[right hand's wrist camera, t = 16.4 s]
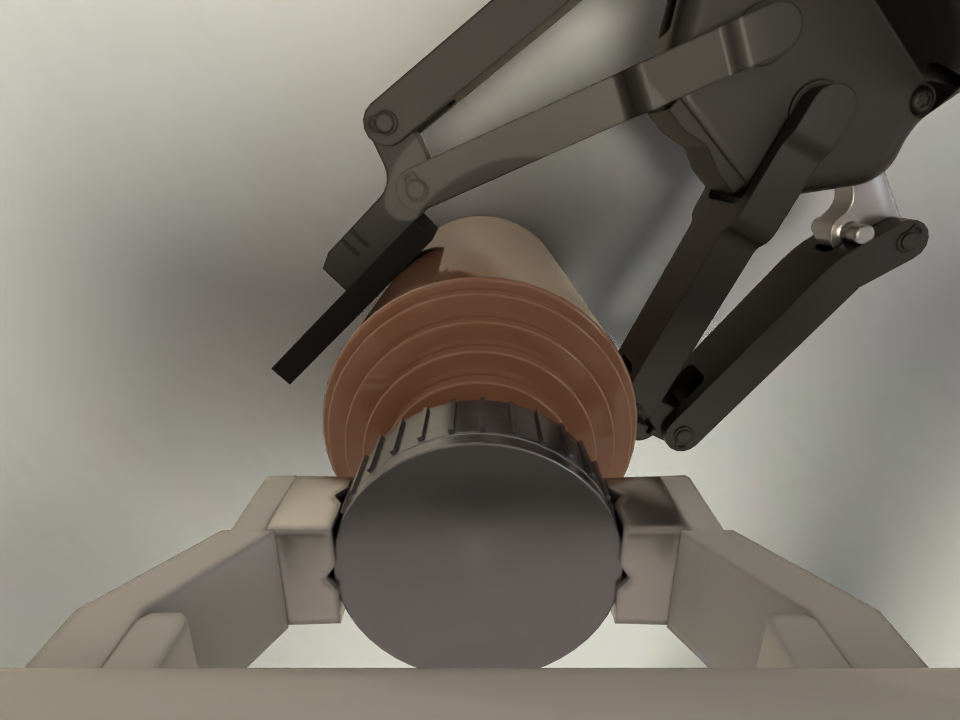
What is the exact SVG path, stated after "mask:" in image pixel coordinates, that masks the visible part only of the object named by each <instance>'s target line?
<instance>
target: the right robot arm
mask: <svg viewBox="0 0 960 720" xmlns="http://www.w3.org/2000/svg"><path fill="white" fill-rule="evenodd" d="M603 479H604V482H605V484H606V487H607V490H608V492H609V495H610V498H611V500H612V502H613V505H614V516H615V519H616V523H617V526H618V529H619V533H620V536H621V550H620V559H619V563H620V566H621V567H622V568H623V575H622V580H621V581H620V583H619V584H618V585H617V587H616V597H615V602H614V604H613V606H612V608H611V612H612V615H613V618H614V622H615V623H624V624H660V625H667V627H668V628H669V629H670V630H671V631H672V632H673V633H674V634H675V635H676V636H677V637H678V638H679V639H680V640H681V641H682V642H683V643H684V644H685V645H686V646H687V647H688V648H689V649H690V650H691V651H692V652H693V653H694V654H695V655H696V656H697V657H698V658H699V659H700V660H701V661H703V662H704V663H705V664H706V665H707V666H708V667H709V668H247V667H248V666H249V665H250V664H251V663H252V662H253V661H254V660H255V659H256V658H257V657H258V656H259V655H260V654H261V653H262V652H263V651H264V650H265V649H267V648H268V647H269V646H270V645H271V644H272V643H273V642H274V641H275V640H276V639H277V638H278V637H279V636H280V635H281V634H282V633H283V632H284V631H285V630H286V629H287V628H288V625H295V624H330V623H341V621H342V617H343V614H344V611H345V606H344V604H343V603H342V601H341V598H340V592H339V585H338V584H337V583H336V581H335V576H334V571H333V568H334V566H335V564H336V555H335V538H336V535H337V531H338V528H339V525H340V522H341V519H342V517H339V514H340V511H341V508H342V506H343V503H344V500H345V498H346V495H347V493H348V490H349V488H350V485H351V482H352V480H353V477H325V476H299V477H298V476H270V477H267V478H266V479H265V480H264V481H263V483H262V485H261V486H260V488H259V489H258V491H257V492H256V494H255V495H254V497H253V498H252V500H251V501H250V503H249V504H248V506H247V507H246V509H245V510H244V512H243V513H242V515H241V516H240V518H239V519H238V521H237V522H236V524H235V525H234V527H233V528H232V530H222V531H220V532H218V533H217V534H215V535H213V536H211V537H209V538H207V539H205V540H204V541H202V542H200V543H198V544H196V545H194V546H193V547H191V548H189V549H187V550H185V551H183V552H182V553H180V554H178V555H176V556H174V557H172V558H171V559H169V560H167V561H165V562H163V563H161V564H160V565H158V566H156V567H154V568H152V569H150V570H149V571H147V572H145V573H143V574H141V575H139V576H138V577H136V578H134V579H132V580H130V581H128V582H127V583H125V584H123V585H121V586H119V587H117V588H116V589H114V590H112V591H110V592H108V593H106V594H105V595H103V596H101V597H99V598H97V599H95V600H94V601H92V602H90V603H88V604H86V605H84V606H83V607H81V608H79V609H77V610H75V612H74V613H73V614H72V615H71V616H70V617H69V618H68V619H67V621H66V622H65V623H64V624H63V625H62V626H61V627H60V628H59V630H58V631H57V632H56V633H55V634H54V635H53V636H52V637H51V639H50V640H49V641H48V642H47V643H46V644H45V645H44V647H43V648H42V649H41V650H40V651H39V652H38V653H37V654H36V656H35V657H34V658H33V659H32V660H31V661H30V662H29V663H28V665H27V666H26V667H25V668H0V720H960V668H928V666H927V665H926V664H925V663H924V662H923V661H922V660H921V658H920V657H919V656H918V655H917V654H916V653H915V651H914V650H913V649H912V648H911V647H910V646H909V645H908V643H907V642H906V641H905V640H904V639H903V638H902V636H901V635H900V634H899V633H898V632H897V631H896V630H895V628H894V627H893V626H892V625H891V624H890V623H889V621H888V620H887V619H886V618H885V617H884V616H883V615H882V613H881V612H880V611H878V610H876V609H875V608H873V607H871V606H869V605H867V604H866V603H864V602H862V601H860V600H858V599H857V598H855V597H853V596H851V595H849V594H847V593H846V592H844V591H842V590H840V589H838V588H837V587H835V586H833V585H831V584H829V583H828V582H826V581H824V580H822V579H820V578H818V577H817V576H815V575H813V574H811V573H809V572H808V571H806V570H804V569H802V568H800V567H798V566H797V565H795V564H793V563H791V562H789V561H788V560H786V559H784V558H782V557H780V556H779V555H777V554H775V553H773V552H771V551H769V550H768V549H766V548H764V547H762V546H760V545H759V544H757V543H755V542H753V541H751V540H750V539H748V538H746V537H744V536H742V535H740V534H739V533H737V532H735V531H733V530H724V529H723V528H722V526H721V525H720V523H719V522H718V520H717V519H716V517H715V516H714V514H713V513H712V511H711V510H710V508H709V507H708V505H707V504H706V502H705V501H704V499H703V498H702V496H701V495H700V493H699V491H698V490H697V488H696V487H695V485H694V484H693V482H692V481H691V479H690V478H689V477H687V476H685V475H681V476H656V477H616V478H603Z"/></svg>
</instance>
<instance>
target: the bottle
mask: <svg viewBox="0 0 960 720" xmlns="http://www.w3.org/2000/svg"><path fill="white" fill-rule="evenodd" d="M480 397H484V398H485V400H490V401H500V402H505V403H509V401H514V404H515V405H518V406H521V407H524V408H528V409H531V410H533V411H536V409H538V410H540V411H541V413H542V415H544V416H546V417H548V418H549V419H551V420H552V421H554V422H556V423H557V424H560V423H563V424H564V425H565V428H566V431H568V432H569V433H570V434H571V435H572V436H573V437H574V438H575V439H576V440H577V441H578V442H579V441H580V440H582V441H583V443H584V445H585V448H586V451H587V453H588V455H589V456H590V458H591V459H592V461H595V460H596V461H597V463H598V466H599V468H600V471H601V474H602V476H603V478H616V477H624V475H625V472H626V470H627V468H628V466H629V462H630V459H631V456H632V453H633V450H634V445H635V439H636V433H637V406H636V398H635V392H634V388H633V385H632V381H631V377H630V374H629V372H628V370H627V367H626V365H625V363H624V361H623V358H622V356H621V355H620V353H619V352H618V350H617V349H616V347H615V345H614V344H613V342H612V341H611V339H610V338H609V336H608V335H607V333H606V332H605V331H604V329H603V328H602V326H601V325H600V323H599V322H598V320H597V319H596V318H595V316H594V315H593V313H592V312H591V310H590V309H589V307H588V306H587V305H586V303H585V302H584V300H583V299H582V297H581V296H580V295H579V293H578V292H577V290H576V289H575V287H574V286H573V284H572V283H571V282H570V280H569V279H568V277H567V276H566V274H565V273H564V272H563V270H562V269H561V267H560V266H559V264H558V263H557V261H556V260H555V259H554V257H553V256H552V254H551V253H550V251H549V250H548V249H547V247H546V246H545V245H544V244H543V243H542V242H541V241H540V240H539V239H538V238H537V237H536V236H535V235H534V234H533V233H531V232H530V231H528V230H527V229H525V228H524V227H522V226H520V225H518V224H516V223H514V222H511V221H508V220H506V219H502V218H497V217H492V216H470V217H465V218H460V219H457V220H454V221H451V222H448V223H446V224H444V225H442V226H440V227H438V230H437V232H436V234H435V236H434V238H433V240H432V241H431V242H430V243H429V244H428V245H427V246H426V247H425V248H424V249H423V250H422V251H421V252H420V253H419V254H418V255H417V256H416V257H415V258H414V259H413V260H412V261H411V262H410V263H409V264H408V265H407V266H406V267H405V268H404V269H403V271H402V272H401V273H400V274H398V275H397V276H396V277H395V278H394V279H393V280H392V282H391V283H390V284H389V285H388V286H387V287H386V289H385V290H384V292H383V293H382V294H381V296H380V297H379V298H378V300H377V301H376V303H375V304H374V305H373V307H372V308H371V309H370V311H369V312H368V314H367V315H366V316H365V318H364V319H363V321H362V322H361V323H360V325H359V326H358V327H357V329H356V330H355V332H354V333H353V334H352V336H351V337H350V338H349V340H348V341H347V343H346V344H345V346H344V348H343V349H342V351H341V353H340V354H339V356H338V358H337V359H336V362H335V364H334V366H333V369H332V371H331V374H330V376H329V379H328V383H327V387H326V391H325V395H324V404H323V414H322V416H323V434H324V439H325V445H326V450H327V453H328V456H329V459H330V462H331V465H332V468H333V470H334V472H335V474H336V476H337V477H354V476H356V474H357V471H358V468H359V466H360V463H361V461H362V458H363V456H364V455H367V456H368V455H369V454H370V452H371V451H372V449H373V448H374V446H375V445H376V442H377V439H378V437H379V436H380V435H382V436H385V435H386V434H387V433H388V432H389V431H391V430H392V429H393V428H394V427H395V426H397V424H398V421H399V420H400V419H402V418H403V420H404V421H405V420H406V419H408V418H409V417H411V416H413V415H415V414H417V413H420V412H422V411H423V408H424V407H427V406H428V408H432V407H436V406H439V405H442V404H446V403H451V400H453V399H456V402H458V401H467V400H480Z"/></svg>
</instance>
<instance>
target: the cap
mask: <svg viewBox="0 0 960 720" xmlns="http://www.w3.org/2000/svg"><path fill="white" fill-rule="evenodd" d="M339 517H342V519H341V522H340V525H339V528H338V531H337V535H336V538H335V555H336V564H335V566H334V568H333V571H334V576H335V581H336V583H337V584H338V585H339V592H340V598H341V601H342V603H343V604H344V606H345V608H346V610H347V612H348V614H349V615H350V617H351V618H352V620H353V621H354V622H355V624H356V625H357V626H358V628H359V629H360V630H361V631H362V632H363V633H364V634H365V635H366V636H367V637H368V638H369V639H370V640H371V641H372V642H374V643H375V644H376V645H377V646H378V647H380V648H381V649H382V650H384V651H385V652H387V653H389V654H390V655H392V656H393V657H395V658H397V659H399V660H401V661H403V662H405V663H407V664H409V665H411V666H413V667H416V668H541V667H544V666H546V665H548V664H550V663H552V662H554V661H556V660H559V659H561V658H562V657H564V656H565V655H567V654H568V653H570V652H572V651H573V650H575V649H576V648H577V647H578V646H580V645H581V644H582V643H583V642H585V641H586V640H587V639H588V638H589V637H590V636H591V635H592V634H593V633H594V632H595V631H596V630H597V629H598V628H599V626H600V625H601V623H602V622H603V621H604V619H605V618H606V617H607V615H608V613H609V612H610V610H611V608H612V606H613V604H614V602H615V597H616V587H617V585H618V584H619V583H620V581H621V580H622V575H623V568H622V567H621V566H620V563H619V559H620V550H621V536H620V533H619V529H618V526H617V523H616V519H615V516H614V505H613V502H612V500H611V498H610V495H609V492H608V490H607V487H606V484H605V482H604V479H603V476H602V474H601V471H600V468H599V466H598V463H597V461H596V460H595V461H592V459H591V458H590V456H589V455H588V453H587V451H586V448H585V445H584V443H583V441H582V440H580V441H579V442H578V441H577V440H576V439H575V438H574V437H573V436H572V435H571V434H570V433H569V432H568V431H566V428H565V425H564V424H563V423H560V424H557V423H556V422H554V421H552V420H551V419H549V418H548V417H546V416H544V415H542V413H541V411H540V410H538V409H536V411H533V410H531V409H528V408H524V407H521V406H518V405H515V404H514V401H509V403H505V402H500V401H490V400H485V398H484V397H480V400H467V401H458V402H456V399H453V400H451V403H446V404H442V405H439V406H436V407H432V408H428V406H427V407H424V408H423V411H422V412H420V413H417V414H415V415H413V416H411V417H409V418H408V419H406V420H405V421H404V420H403V418H402V419H400V420H399V421H398V424H397V426H395V427H394V428H393V429H392V430H391V431H389V432H388V433H387V434H386V435H385V436H382V435H380V436H379V437H378V439H377V442H376V445H375V446H374V448H373V449H372V451H371V452H370V454H369V455H368V456H367V455H364V456H363V458H362V461H361V463H360V466H359V468H358V471H357V474H356V476H354V477H353V480H352V482H351V485H350V488H349V490H348V493H347V495H346V498H345V500H344V503H343V506H342V508H341V511H340V514H339Z"/></svg>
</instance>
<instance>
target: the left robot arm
mask: <svg viewBox="0 0 960 720" xmlns="http://www.w3.org/2000/svg"><path fill="white" fill-rule="evenodd" d="M581 1H582V0H491V1H490V2H489V3H488V4H486V5H485V6H484V7H483V8H482V9H481V10H479V11H478V12H477V13H476V14H475V15H474V16H472V17H471V18H470V19H469V20H468V21H467V22H465V23H464V24H463V25H462V26H461V27H460V28H458V29H457V30H456V31H455V32H454V33H453V34H451V35H450V36H449V37H448V38H447V39H446V40H444V41H443V42H442V43H441V44H440V45H439V46H437V47H436V48H435V49H434V50H433V51H432V52H430V53H429V54H428V55H427V56H426V57H425V58H423V59H422V60H421V61H420V62H419V63H418V64H416V65H415V66H414V67H413V68H412V69H411V70H409V71H408V72H407V73H406V74H405V75H404V76H402V77H401V78H400V79H399V80H398V81H397V82H395V83H394V84H393V85H392V86H391V87H390V88H388V89H387V90H386V91H385V92H384V93H383V94H381V95H380V96H379V97H378V98H377V99H376V100H374V101H373V102H372V103H371V104H370V105H369V107H368V108H367V109H366V110H365V114H364V118H363V123H364V129H365V131H366V133H367V135H368V137H369V138H370V139H371V140H372V141H373V143H374V145H375V147H376V149H377V151H378V153H379V155H380V157H381V159H382V161H383V163H384V166H385V169H386V172H387V185H386V188H385V190H384V192H383V194H382V195H381V197H380V198H379V199H378V200H377V201H376V202H375V203H374V204H373V205H372V206H371V208H370V209H369V210H368V211H367V212H366V213H365V214H364V215H363V216H362V217H361V218H360V219H359V220H358V221H357V223H356V224H355V225H354V226H353V227H352V228H351V229H350V230H349V231H348V232H347V233H346V234H345V235H344V237H343V238H342V239H341V240H340V241H339V242H338V243H337V244H336V245H335V246H334V247H333V248H332V249H331V250H330V252H329V253H328V256H327V258H326V261H325V264H324V267H323V269H324V270H325V271H326V272H327V273H328V274H329V275H330V276H331V277H332V278H333V279H334V280H336V281H337V282H338V283H339V284H340V285H341V286H342V287H343V288H344V289H345V290H346V291H345V292H344V293H343V294H342V295H341V296H340V298H339V299H338V300H337V301H336V302H335V303H334V304H333V305H332V306H331V307H330V308H329V309H328V310H327V311H326V312H325V313H324V314H323V315H322V316H321V317H320V318H319V319H318V320H317V321H316V322H315V323H314V324H313V326H312V327H311V328H310V329H309V330H308V331H307V332H306V333H305V334H304V335H303V336H302V337H301V338H300V339H299V340H298V341H297V342H296V343H295V344H294V345H293V346H292V347H291V348H290V350H289V351H288V352H287V353H286V354H285V355H284V356H283V357H282V358H281V359H280V360H279V361H278V362H277V363H276V364H275V365H274V366H273V368H272V370H273V371H275V372H276V373H277V374H278V375H279V376H281V377H282V378H283V379H284V380H285V381H286V382H288V383H289V384H291V383H292V382H293V381H294V380H295V379H296V378H297V377H298V376H299V375H300V374H301V373H302V372H303V371H304V370H305V369H306V368H307V367H308V366H309V365H310V364H311V363H312V362H313V361H314V360H315V359H316V358H317V357H318V356H319V355H320V354H321V353H322V352H323V351H324V350H325V349H326V347H327V346H328V345H329V344H330V343H331V342H332V341H333V340H334V339H335V338H336V337H337V336H338V335H339V334H340V333H341V332H342V331H343V330H344V329H345V328H346V327H347V326H348V325H349V324H350V323H351V322H352V321H353V320H354V319H355V318H356V317H357V316H358V315H359V314H360V313H361V312H362V311H363V310H364V309H365V308H366V307H367V306H368V305H369V304H370V303H371V302H372V301H373V300H374V299H375V298H376V297H377V296H378V295H379V294H380V293H381V292H382V291H383V290H384V289H385V288H386V287H387V286H388V285H389V284H390V283H391V282H392V280H393V279H394V278H395V277H396V276H397V275H398V274H400V273H401V272H402V271H403V269H404V268H405V267H406V266H407V265H408V264H409V263H410V262H411V261H412V260H413V259H414V258H415V257H416V256H417V255H418V254H419V253H420V252H421V251H422V250H423V249H424V248H425V247H426V246H427V245H428V244H429V243H430V242H431V241H432V240H433V238H434V236H435V234H436V232H437V230H438V227H437V226H436V225H435V224H434V223H433V222H432V221H431V220H430V219H429V218H428V217H427V216H426V215H425V214H424V212H425V211H426V210H427V209H428V208H430V207H432V206H434V205H437V204H439V203H441V202H443V201H446V200H448V199H450V198H453V197H455V196H457V195H459V194H462V193H464V192H466V191H468V190H471V189H473V188H475V187H477V186H480V185H482V184H484V183H486V182H489V181H491V180H493V179H496V178H498V177H500V176H502V175H505V174H507V173H509V172H511V171H514V170H516V169H518V168H520V167H523V166H525V165H527V164H529V163H532V162H534V161H536V160H539V159H541V158H543V157H545V156H548V155H550V154H552V153H554V152H557V151H559V150H561V149H563V148H566V147H568V146H570V145H572V144H575V143H577V142H579V141H582V140H584V139H586V138H588V137H591V136H593V135H595V134H597V133H600V132H602V131H604V130H606V129H609V128H611V127H613V126H615V125H618V124H620V123H622V122H625V121H627V120H629V119H632V118H634V117H637V116H640V115H642V114H645V113H647V112H649V113H648V115H649V116H650V117H651V119H652V120H653V121H654V122H655V124H656V125H657V126H658V127H659V129H660V130H661V131H662V132H663V133H664V134H665V135H667V136H668V137H670V138H671V139H673V140H674V141H676V142H677V143H678V144H680V145H681V146H683V148H684V149H685V152H686V154H687V157H688V159H689V162H690V164H691V166H692V169H693V171H694V172H695V174H696V175H697V176H698V177H699V179H700V180H701V181H702V182H703V184H704V185H705V186H706V187H705V189H704V191H703V193H702V195H701V196H700V198H699V200H698V202H697V203H696V205H695V207H694V210H693V213H692V222H691V225H690V227H689V228H688V230H687V232H686V234H685V235H684V237H683V239H682V241H681V242H680V244H679V246H678V248H677V249H676V251H675V253H674V255H673V256H672V258H671V260H670V262H669V263H668V265H667V267H666V269H665V270H664V272H663V274H662V276H661V277H660V279H659V281H658V283H657V284H656V286H655V288H654V290H653V291H652V293H651V295H650V297H649V298H648V300H647V302H646V304H645V306H644V307H643V309H642V311H641V313H640V314H639V316H638V318H637V320H636V321H635V323H634V325H633V327H632V328H631V330H630V332H629V334H628V335H627V337H626V339H625V341H624V342H623V344H622V346H621V348H620V349H619V351H618V352H619V353H620V355H621V356H622V358H623V361H624V363H625V365H626V367H627V370H628V372H629V374H630V377H631V381H632V385H633V388H634V392H635V398H636V406H637V433H636V439H635V440H644V439H647V438H649V437H651V436H652V435H653V436H655V437H658V438H660V439H662V440H664V441H665V442H666V443H667V445H668V446H669V447H670V448H672V449H674V450H676V451H685V450H689V449H691V448H692V447H694V446H695V445H697V444H698V443H699V442H700V441H701V440H702V439H703V438H704V437H705V436H706V435H707V434H708V433H709V432H710V431H711V430H712V429H713V428H714V427H715V426H716V425H717V424H718V423H719V422H720V421H721V420H722V419H723V418H724V417H725V416H727V415H728V414H729V413H730V412H731V411H732V410H733V409H734V408H735V407H736V406H737V405H738V404H739V403H740V402H741V401H742V400H743V399H744V398H745V397H746V396H747V395H748V394H749V393H750V392H751V391H752V390H753V389H754V388H756V387H757V386H758V385H759V384H760V383H761V382H762V381H763V380H764V379H765V378H766V377H767V376H768V375H769V374H770V373H771V372H772V371H773V370H774V369H775V368H776V367H777V366H778V365H779V364H780V363H781V362H782V361H783V360H784V359H786V358H787V357H788V356H789V355H790V354H791V353H792V352H793V351H794V350H795V349H796V348H797V347H798V346H799V345H800V344H801V343H802V342H803V341H804V340H805V339H806V338H807V337H808V336H809V335H810V334H811V333H812V332H813V331H814V330H816V329H817V328H818V327H819V326H820V325H821V324H822V323H823V322H824V321H825V320H826V319H827V318H828V317H829V316H830V315H831V314H832V313H833V312H834V311H835V310H836V309H837V308H838V307H839V306H840V305H841V304H842V303H843V302H845V301H846V300H847V299H848V298H849V297H850V296H851V295H852V294H853V293H854V292H855V291H856V290H857V289H858V288H859V287H861V286H863V285H864V284H866V283H868V282H870V281H872V280H874V279H876V278H877V277H879V276H881V275H883V274H885V273H887V272H889V271H891V270H892V269H894V268H896V267H898V266H900V265H902V264H904V263H906V262H907V261H909V260H911V259H913V258H915V257H916V256H917V255H919V254H920V253H921V252H922V251H923V249H924V248H925V246H926V245H927V241H928V238H929V235H928V229H927V227H926V226H925V224H924V223H922V222H920V221H918V220H912V219H906V218H901V216H900V214H899V211H898V209H897V206H896V203H895V200H894V197H893V194H892V192H891V189H890V186H889V183H888V180H887V177H886V175H885V172H884V171H885V170H886V169H887V168H888V167H889V166H890V165H891V164H892V163H893V161H894V160H895V158H896V157H897V155H898V153H899V151H900V149H901V147H902V145H903V143H904V141H905V140H906V138H907V136H908V135H909V133H910V132H911V131H912V129H913V128H914V127H915V126H916V124H917V123H918V122H919V121H920V120H921V119H922V118H924V117H925V116H926V115H928V114H929V113H930V112H932V111H933V110H935V109H936V108H937V107H939V106H940V105H942V104H943V103H945V102H946V101H948V100H949V99H951V98H952V97H954V96H955V95H956V94H958V93H959V92H960V0H668V1H667V5H666V9H665V13H664V17H663V21H662V25H661V29H660V33H659V37H658V41H657V45H656V49H655V53H654V57H652V58H649V59H647V60H645V61H643V62H641V63H638V64H636V65H634V66H632V67H630V68H628V69H626V70H623V71H621V72H619V73H617V74H615V75H613V76H611V77H608V78H606V79H604V80H602V81H600V82H597V83H595V84H593V85H591V86H589V87H586V88H584V89H582V90H580V91H578V92H575V93H573V94H571V95H569V96H567V97H564V98H562V99H560V100H558V101H556V102H553V103H551V104H549V105H547V106H545V107H542V108H540V109H538V110H536V111H534V112H531V113H529V114H527V115H525V116H523V117H520V118H518V119H516V120H514V121H512V122H509V123H507V124H505V125H503V126H501V127H498V128H496V129H494V130H492V131H490V132H487V133H485V134H483V135H481V136H479V137H476V138H474V139H472V140H470V141H468V142H465V143H463V144H461V145H459V146H457V147H454V148H452V149H450V150H448V151H446V152H443V153H441V154H439V155H437V156H435V157H432V158H431V157H430V155H429V153H428V150H427V148H426V146H425V144H424V142H423V139H422V137H421V135H420V133H422V132H423V131H424V130H425V129H427V128H428V127H429V126H430V125H431V124H433V123H434V122H435V121H436V120H437V119H439V118H440V117H441V116H442V115H444V114H445V113H446V112H447V111H448V110H450V109H451V108H452V107H453V106H454V105H456V104H457V103H458V102H459V101H461V100H462V99H463V98H464V97H465V96H467V95H468V94H469V93H470V92H472V91H473V90H474V89H475V88H476V87H478V86H479V85H480V84H481V83H482V82H484V81H485V80H486V79H487V78H489V77H490V76H491V75H492V74H493V73H495V72H496V71H497V70H498V69H499V68H501V67H502V66H503V65H504V64H506V63H507V62H508V61H509V60H510V59H512V58H513V57H514V56H515V55H516V54H518V53H519V52H520V51H521V50H523V49H524V48H525V47H526V46H527V45H529V44H530V43H531V42H532V41H534V40H535V39H536V38H537V37H538V36H540V35H541V34H542V33H543V32H544V31H546V30H547V29H548V28H549V27H551V26H552V25H553V24H554V23H555V22H557V21H558V20H559V19H560V18H561V17H563V16H564V15H565V14H566V13H568V12H569V11H570V10H571V9H572V8H574V7H575V6H576V5H577V4H578V3H580V2H581ZM829 189H835V197H834V200H833V203H832V205H831V206H830V208H829V209H828V210H827V211H826V212H825V213H824V214H823V215H821V216H820V217H818V218H816V219H815V220H814V221H813V222H812V225H811V229H812V232H813V233H814V235H813V236H811V237H810V238H808V239H807V240H805V241H803V242H802V243H801V244H799V245H798V246H797V247H796V248H794V249H793V250H792V251H791V252H790V253H788V254H787V255H786V256H785V257H784V258H783V259H782V260H781V261H780V262H779V263H778V264H777V265H776V266H775V267H774V268H773V269H772V270H771V271H770V272H769V273H768V274H767V275H766V276H765V277H764V278H763V279H762V281H761V282H760V283H759V284H758V285H757V286H756V287H755V288H754V289H753V290H752V291H751V292H750V293H749V294H748V295H747V296H746V297H745V298H744V299H743V300H742V301H741V302H740V303H739V304H738V305H737V306H736V307H735V308H734V309H733V310H732V311H731V312H730V313H729V315H728V316H727V317H726V318H725V319H724V320H723V321H722V322H721V323H720V324H719V325H718V326H717V327H716V328H715V329H714V330H713V331H712V332H711V333H710V334H709V335H708V336H707V337H706V338H705V339H704V340H703V341H702V342H701V343H700V344H699V345H698V346H697V348H696V349H695V350H694V348H695V346H696V345H697V343H698V342H699V340H700V338H701V337H702V335H703V334H704V332H705V330H706V329H707V327H708V325H709V324H710V322H711V321H712V319H713V317H714V316H715V314H716V313H717V311H718V309H719V308H720V306H721V304H722V303H723V301H724V300H725V298H726V296H727V295H728V293H729V292H730V290H731V288H732V287H733V285H734V283H735V282H736V280H737V279H738V277H739V275H740V274H741V272H742V270H743V269H744V267H745V266H746V264H747V262H748V261H749V259H750V258H751V256H752V254H753V253H754V252H755V250H756V249H757V248H759V247H760V246H762V245H764V244H766V243H767V242H768V241H769V240H770V239H771V238H772V237H773V236H774V234H775V233H776V232H777V230H778V228H779V227H780V225H781V224H782V222H783V220H784V219H785V217H786V216H787V214H788V212H789V211H790V209H791V208H792V206H793V204H794V203H795V201H796V200H797V198H798V196H799V195H800V194H802V193H809V192H815V191H822V190H829ZM693 350H694V351H693ZM692 351H693V352H692Z"/></svg>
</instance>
